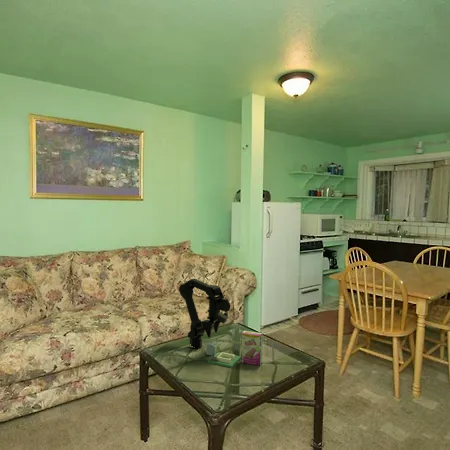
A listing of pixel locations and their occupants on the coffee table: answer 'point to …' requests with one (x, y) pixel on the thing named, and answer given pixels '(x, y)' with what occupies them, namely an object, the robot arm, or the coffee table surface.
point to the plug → (211, 348)
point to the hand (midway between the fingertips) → (212, 334)
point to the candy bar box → (251, 347)
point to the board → (224, 359)
